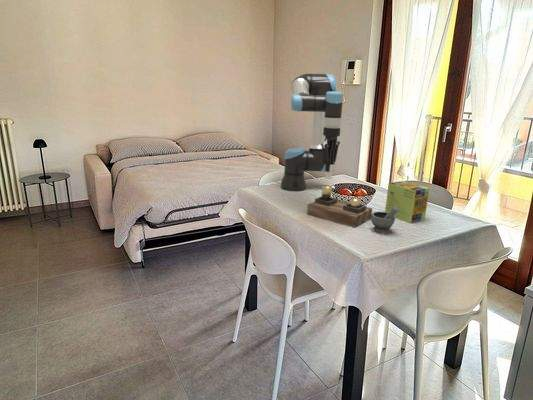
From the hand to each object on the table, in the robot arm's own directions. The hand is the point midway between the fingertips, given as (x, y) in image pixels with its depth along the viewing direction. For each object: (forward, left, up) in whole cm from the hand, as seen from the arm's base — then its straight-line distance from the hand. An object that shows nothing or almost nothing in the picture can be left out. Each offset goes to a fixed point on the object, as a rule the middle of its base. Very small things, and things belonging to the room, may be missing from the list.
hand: (328, 178), depth 177 cm
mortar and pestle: (+3, +30, -18) cm, 35 cm away
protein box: (-22, +30, -18) cm, 41 cm away
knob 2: (0, +15, -12) cm, 19 cm away
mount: (0, +7, -17) cm, 19 cm away
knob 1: (0, 0, -9) cm, 9 cm away
